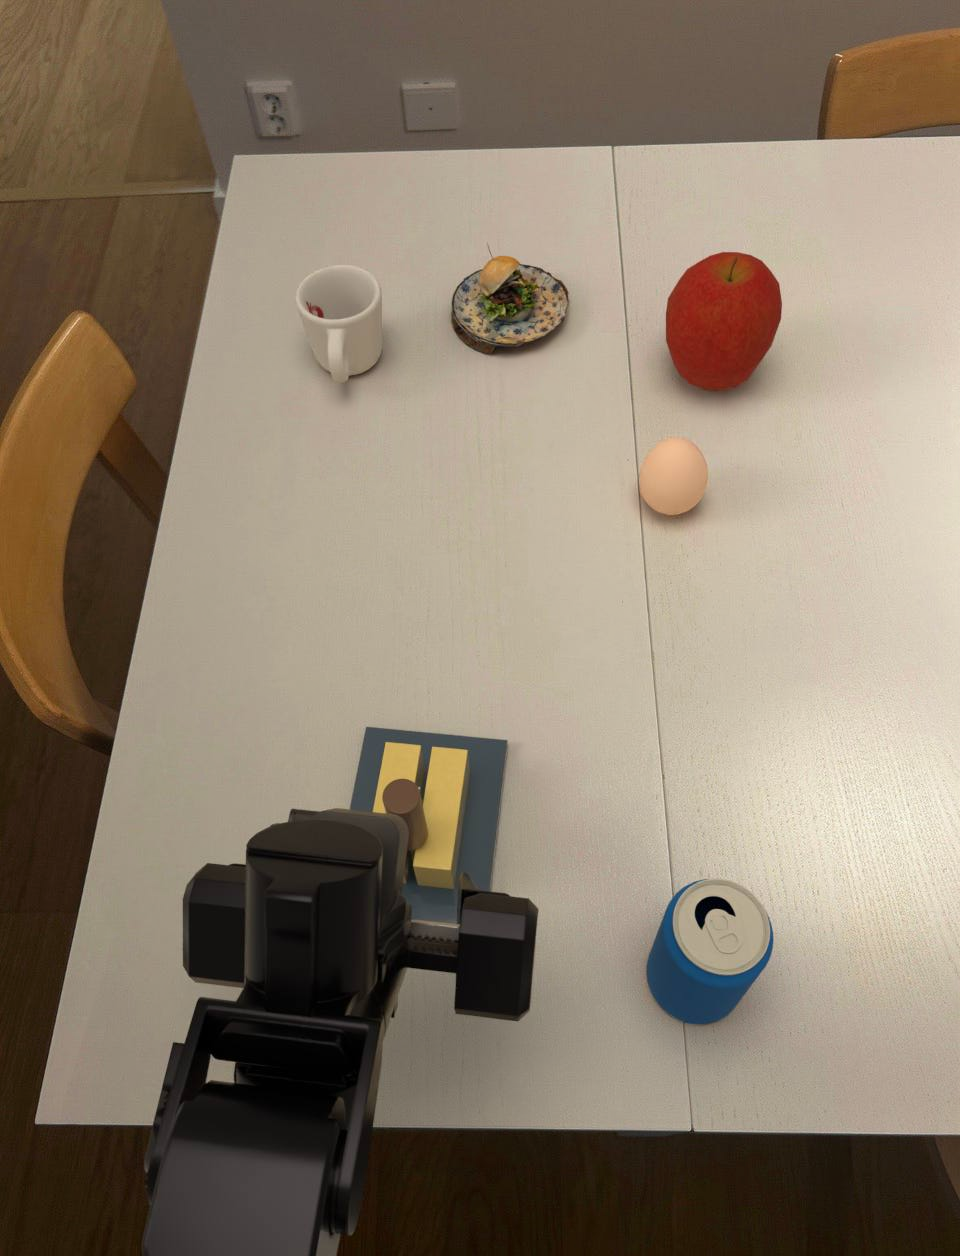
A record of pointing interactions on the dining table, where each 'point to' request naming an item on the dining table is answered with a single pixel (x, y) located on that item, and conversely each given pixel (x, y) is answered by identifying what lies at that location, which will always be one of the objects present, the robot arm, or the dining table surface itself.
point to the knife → (407, 810)
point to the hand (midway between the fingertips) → (389, 871)
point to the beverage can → (708, 950)
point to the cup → (342, 318)
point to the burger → (507, 304)
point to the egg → (673, 476)
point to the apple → (722, 319)
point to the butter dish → (476, 812)
